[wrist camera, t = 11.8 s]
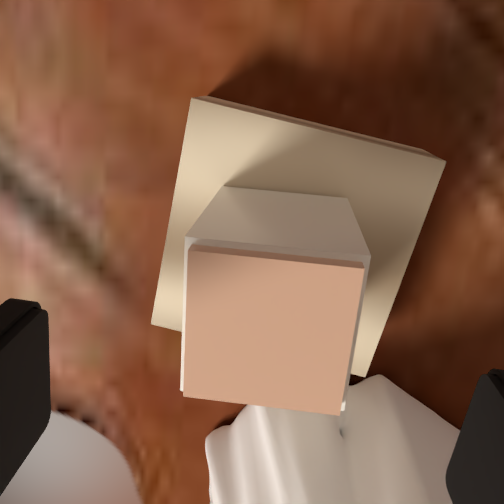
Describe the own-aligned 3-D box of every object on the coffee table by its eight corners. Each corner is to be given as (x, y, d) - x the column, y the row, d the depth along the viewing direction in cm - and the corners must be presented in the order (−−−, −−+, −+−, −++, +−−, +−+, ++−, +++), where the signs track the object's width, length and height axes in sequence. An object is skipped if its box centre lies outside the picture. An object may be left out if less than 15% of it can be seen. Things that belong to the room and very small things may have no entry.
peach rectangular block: (222, 186, 19) (180, 242, 12) (347, 198, 19) (373, 262, 12) (215, 298, 21) (176, 401, 14) (330, 311, 20) (345, 422, 14)
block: (209, 95, 22) (191, 97, 18) (420, 148, 22) (446, 161, 18) (172, 288, 25) (150, 323, 22) (354, 333, 25) (365, 377, 22)
